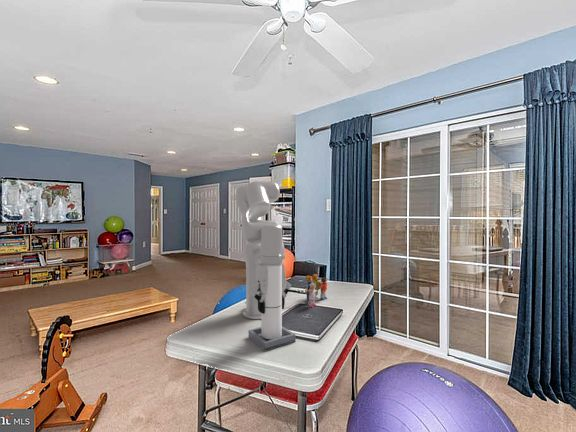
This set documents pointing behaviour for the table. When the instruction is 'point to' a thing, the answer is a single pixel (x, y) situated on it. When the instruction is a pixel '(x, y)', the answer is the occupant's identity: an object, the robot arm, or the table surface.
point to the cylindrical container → (273, 305)
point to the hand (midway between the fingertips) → (271, 309)
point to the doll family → (315, 289)
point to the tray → (271, 343)
